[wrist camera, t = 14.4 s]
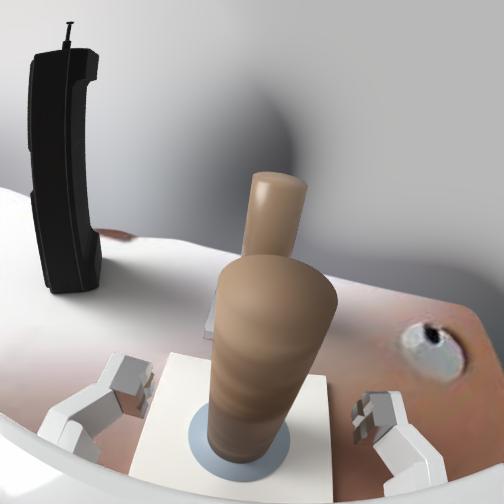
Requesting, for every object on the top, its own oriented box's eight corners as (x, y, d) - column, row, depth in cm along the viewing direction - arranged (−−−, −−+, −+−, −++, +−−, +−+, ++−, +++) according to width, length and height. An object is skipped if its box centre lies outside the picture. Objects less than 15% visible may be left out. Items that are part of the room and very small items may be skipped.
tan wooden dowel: (203, 338, 24) (214, 188, 18) (219, 283, 31) (233, 159, 24) (297, 352, 24) (344, 211, 18) (294, 295, 31) (326, 176, 24)
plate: (125, 499, 11) (120, 495, 11) (171, 359, 22) (170, 350, 21) (327, 526, 11) (334, 524, 11) (321, 382, 22) (326, 374, 21)
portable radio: (58, 254, 30) (49, 40, 18) (102, 250, 33) (104, 33, 20) (45, 295, 24) (23, 29, 12) (98, 291, 27) (93, 17, 14)
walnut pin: (202, 457, 14) (205, 318, 8) (212, 405, 18) (228, 247, 11) (269, 467, 14) (346, 338, 8) (272, 414, 17) (329, 264, 11)
